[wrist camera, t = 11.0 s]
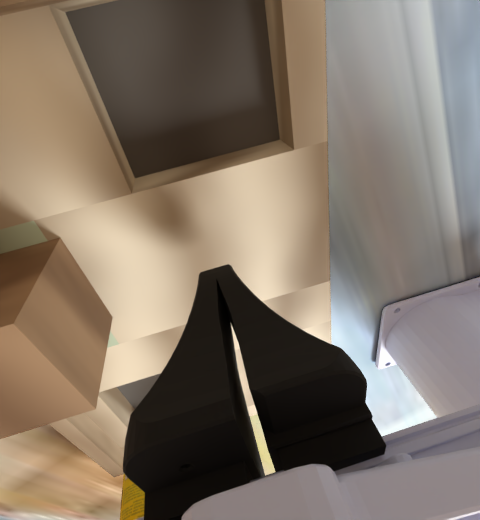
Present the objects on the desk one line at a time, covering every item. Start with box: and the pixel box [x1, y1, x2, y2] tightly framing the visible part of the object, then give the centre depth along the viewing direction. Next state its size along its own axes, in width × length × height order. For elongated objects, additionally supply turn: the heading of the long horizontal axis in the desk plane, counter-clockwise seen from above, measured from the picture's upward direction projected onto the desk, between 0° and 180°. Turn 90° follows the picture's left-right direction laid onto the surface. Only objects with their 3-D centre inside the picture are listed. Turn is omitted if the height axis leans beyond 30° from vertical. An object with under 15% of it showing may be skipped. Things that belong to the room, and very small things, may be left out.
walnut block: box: [0, 238, 113, 439], centre depth 12 cm, size 5×5×5 cm
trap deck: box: [0, 0, 331, 477], centre depth 16 cm, size 18×27×3 cm, turn 11°
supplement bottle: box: [120, 474, 145, 520], centre depth 25 cm, size 5×5×8 cm
